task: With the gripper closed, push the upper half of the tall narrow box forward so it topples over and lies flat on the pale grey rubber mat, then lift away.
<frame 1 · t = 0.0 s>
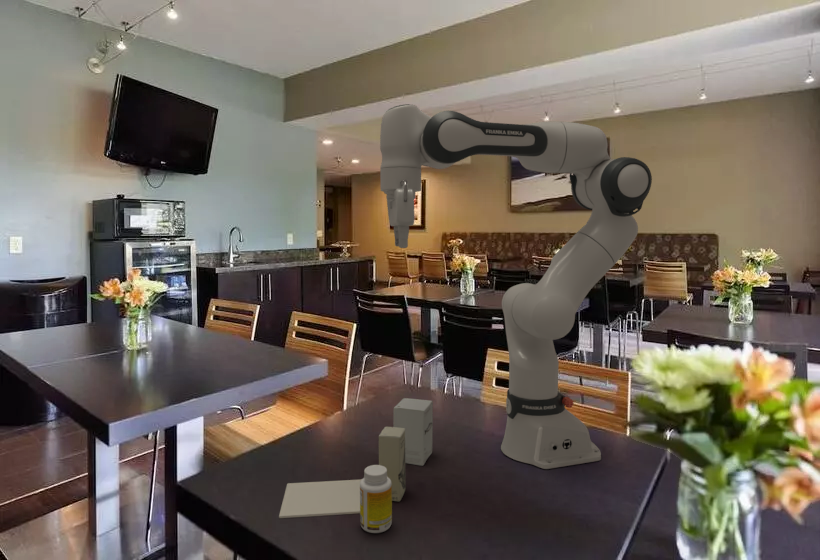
hand: (401, 247, 112), 48 cm above the table, fingers open, 8 cm apart
box: (392, 495, 100), on the table
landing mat: (330, 498, 99), on the table
supplement bottle: (376, 526, 90), on the table
supplement box: (413, 458, 117), on the table
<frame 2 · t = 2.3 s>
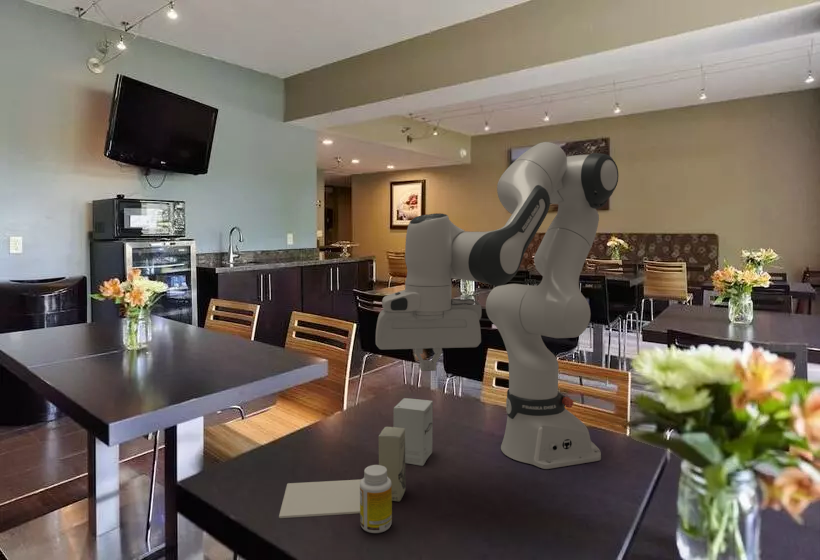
hand: (428, 370, 99), 25 cm above the table, fingers closed
nothing on the table moved.
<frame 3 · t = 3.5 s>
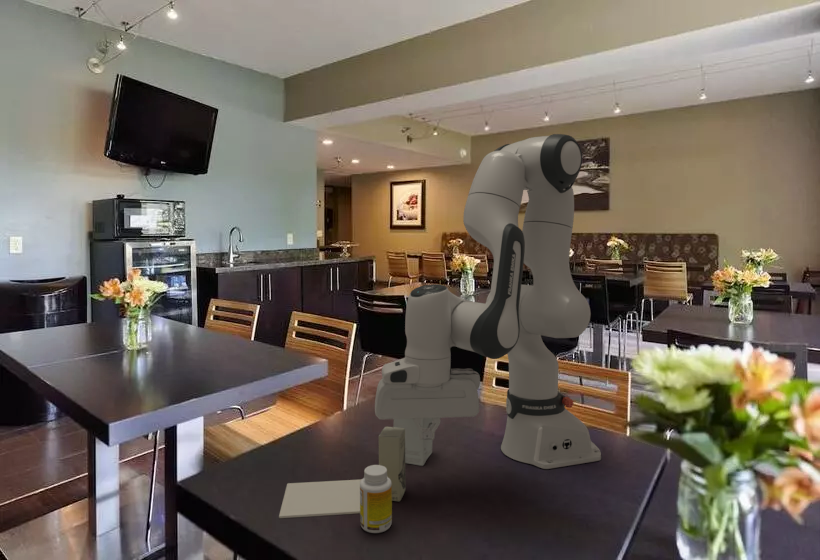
hand: (426, 438, 100), 11 cm above the table, fingers closed
nothing on the table moved.
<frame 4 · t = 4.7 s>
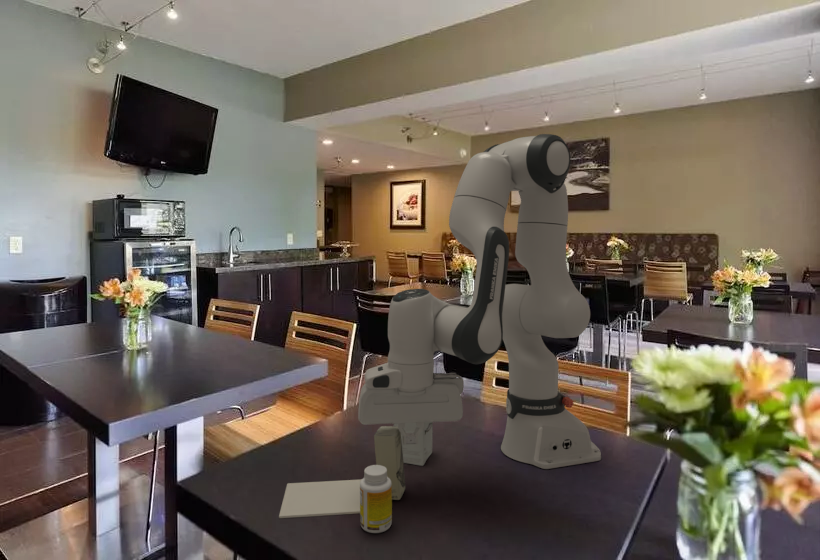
hand: (410, 443, 100), 10 cm above the table, fingers closed
box: (392, 494, 100), on the table, touching gripper
everything else where it was.
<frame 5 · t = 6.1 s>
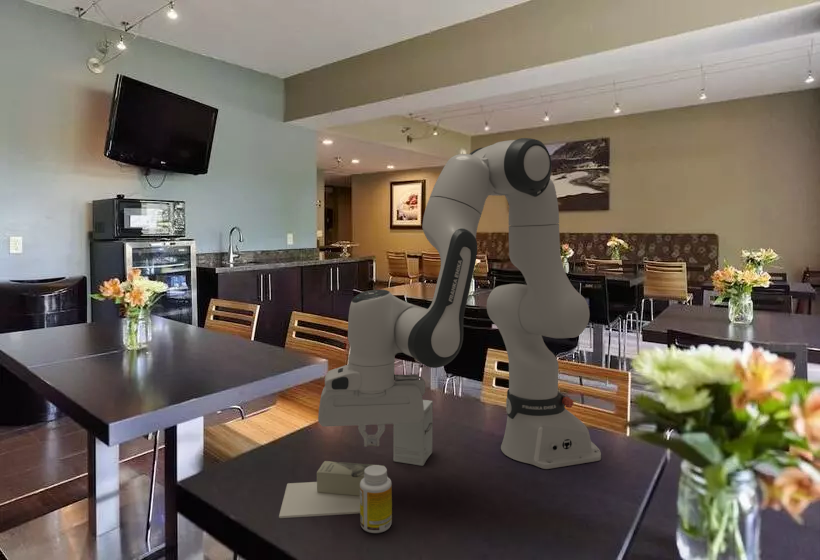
hand: (371, 445, 99), 10 cm above the table, fingers closed
box: (384, 481, 100), point 3 cm above the table, touching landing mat
everything else where it was.
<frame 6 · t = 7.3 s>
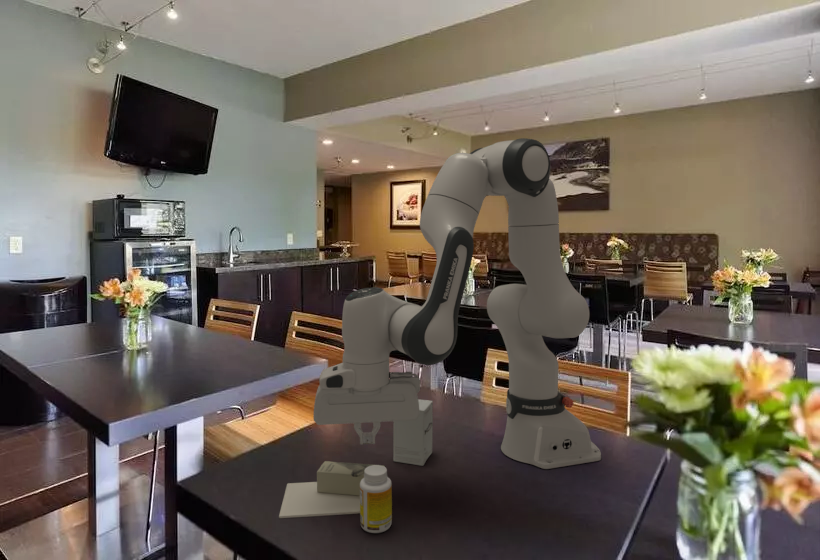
hand: (367, 443, 99), 11 cm above the table, fingers closed
nothing on the table moved.
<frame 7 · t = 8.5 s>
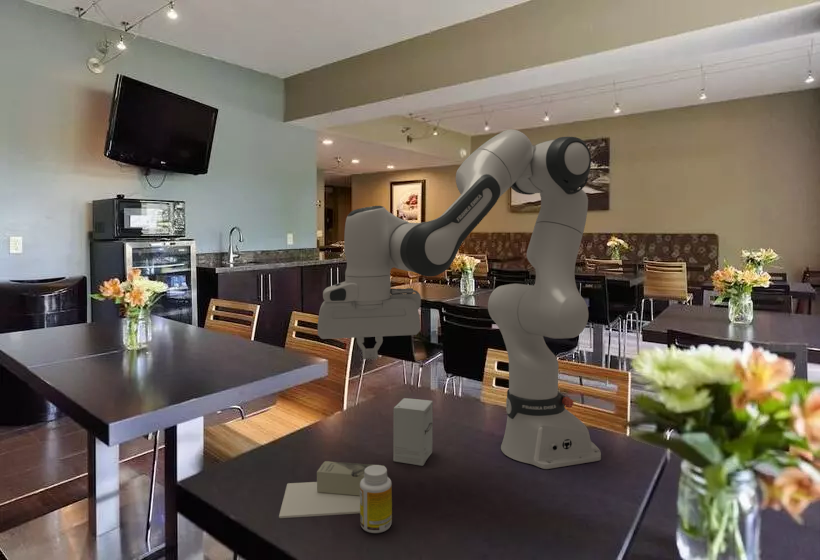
hand: (370, 358, 102), 26 cm above the table, fingers closed
nothing on the table moved.
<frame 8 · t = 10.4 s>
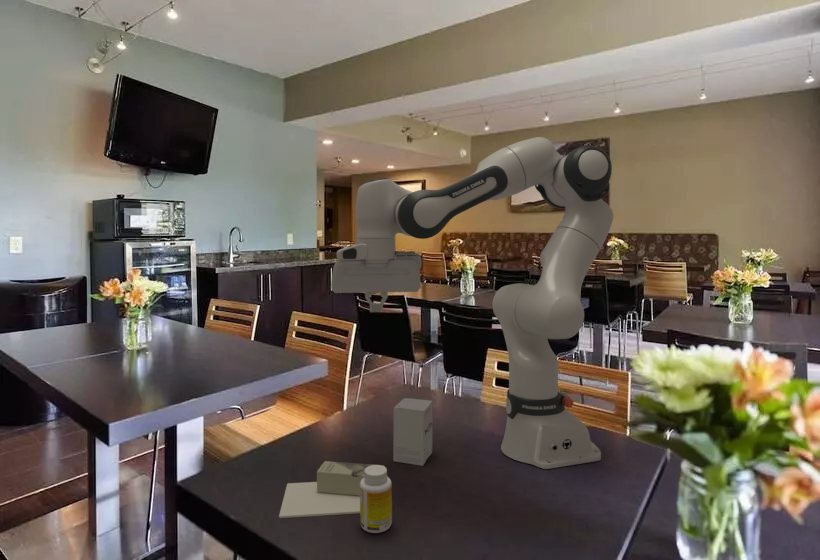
hand: (376, 311, 117), 33 cm above the table, fingers closed
nothing on the table moved.
at the end: box tilted 90°; box touching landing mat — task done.
